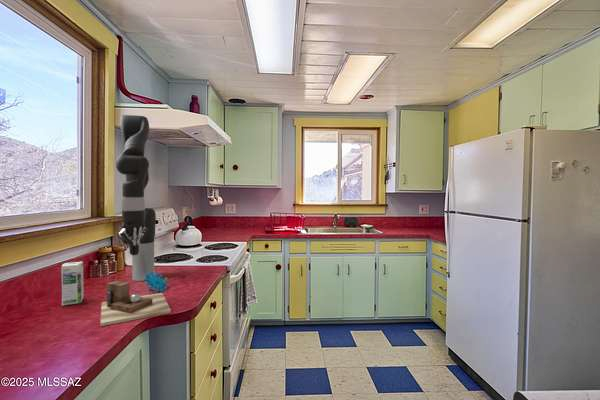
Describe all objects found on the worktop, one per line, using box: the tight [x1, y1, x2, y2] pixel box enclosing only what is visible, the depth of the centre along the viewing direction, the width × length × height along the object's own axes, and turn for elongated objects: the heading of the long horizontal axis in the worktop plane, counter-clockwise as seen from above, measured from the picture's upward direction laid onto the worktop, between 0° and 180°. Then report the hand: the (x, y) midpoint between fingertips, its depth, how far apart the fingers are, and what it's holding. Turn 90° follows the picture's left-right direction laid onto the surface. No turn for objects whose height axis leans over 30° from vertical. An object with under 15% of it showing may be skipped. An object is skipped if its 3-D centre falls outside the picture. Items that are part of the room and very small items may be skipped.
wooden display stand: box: [106, 280, 152, 313], centre depth 105 cm, size 14×9×8 cm, turn 70°
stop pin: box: [106, 291, 112, 307], centre depth 104 cm, size 2×2×5 cm
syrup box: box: [60, 261, 84, 306], centre depth 110 cm, size 6×6×14 cm
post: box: [129, 292, 141, 305], centre depth 105 cm, size 3×3×4 cm
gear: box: [144, 271, 168, 293], centre depth 124 cm, size 11×6×10 cm
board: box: [100, 292, 172, 327], centre depth 105 cm, size 20×20×1 cm
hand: (134, 254), depth 113 cm, fingers closed
